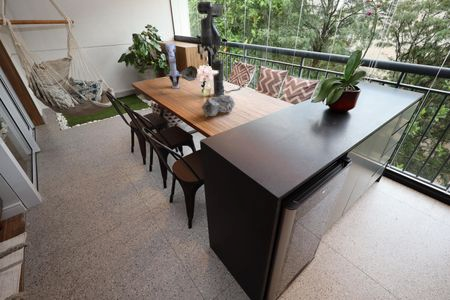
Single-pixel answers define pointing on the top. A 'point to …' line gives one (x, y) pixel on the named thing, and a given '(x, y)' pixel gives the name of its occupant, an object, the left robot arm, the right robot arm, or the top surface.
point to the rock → (218, 105)
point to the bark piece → (189, 73)
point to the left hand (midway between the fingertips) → (175, 84)
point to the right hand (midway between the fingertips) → (207, 59)
